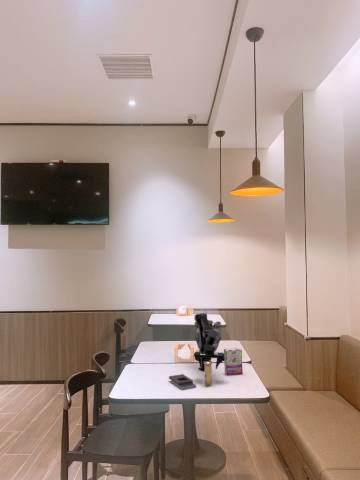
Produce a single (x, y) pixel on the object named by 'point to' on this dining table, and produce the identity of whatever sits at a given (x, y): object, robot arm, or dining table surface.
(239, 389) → the dining table surface
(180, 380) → the grey rectangular frame
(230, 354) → the candy bar box
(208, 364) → the brass pin
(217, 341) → the decorative vase
